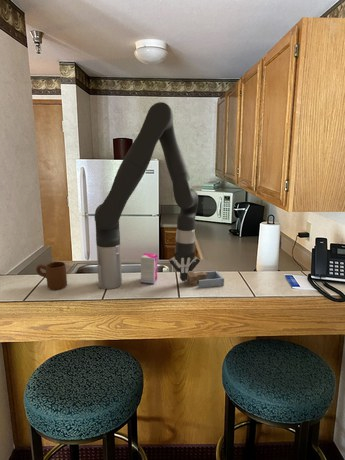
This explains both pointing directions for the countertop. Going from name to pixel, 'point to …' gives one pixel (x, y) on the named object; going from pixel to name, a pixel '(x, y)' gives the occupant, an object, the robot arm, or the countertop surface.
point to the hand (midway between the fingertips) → (183, 280)
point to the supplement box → (148, 268)
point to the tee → (195, 278)
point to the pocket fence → (212, 280)
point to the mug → (54, 275)
